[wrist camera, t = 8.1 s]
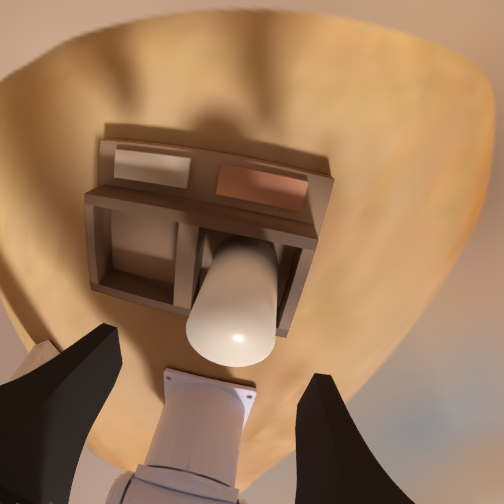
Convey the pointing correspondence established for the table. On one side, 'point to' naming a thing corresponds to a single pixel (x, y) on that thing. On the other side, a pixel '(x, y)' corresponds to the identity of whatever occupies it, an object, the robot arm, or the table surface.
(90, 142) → the table surface
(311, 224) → the socket board
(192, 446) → the robot arm
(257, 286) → the plug
